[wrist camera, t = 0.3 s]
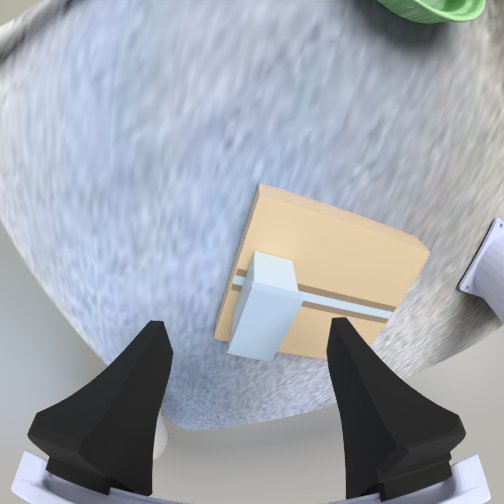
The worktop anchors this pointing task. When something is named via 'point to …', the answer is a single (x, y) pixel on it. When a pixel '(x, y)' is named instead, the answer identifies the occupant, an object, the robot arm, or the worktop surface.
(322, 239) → the carton
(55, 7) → the worktop surface
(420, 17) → the ramekin
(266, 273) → the tab
